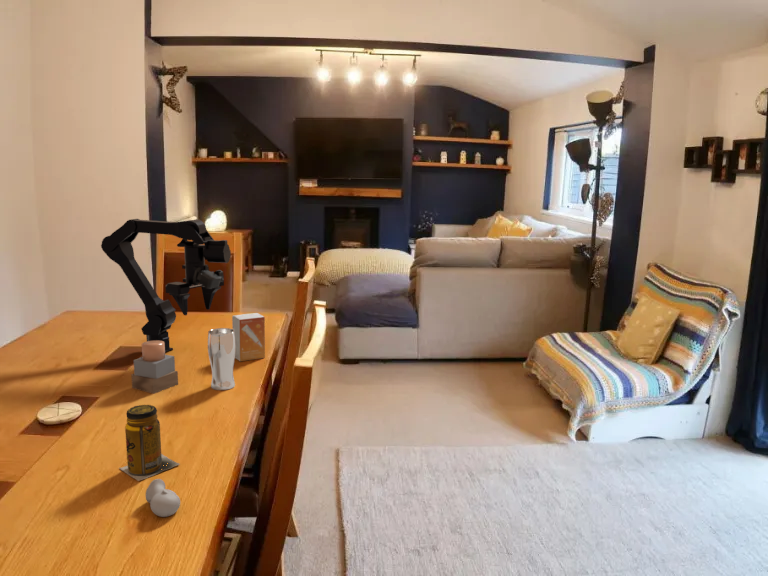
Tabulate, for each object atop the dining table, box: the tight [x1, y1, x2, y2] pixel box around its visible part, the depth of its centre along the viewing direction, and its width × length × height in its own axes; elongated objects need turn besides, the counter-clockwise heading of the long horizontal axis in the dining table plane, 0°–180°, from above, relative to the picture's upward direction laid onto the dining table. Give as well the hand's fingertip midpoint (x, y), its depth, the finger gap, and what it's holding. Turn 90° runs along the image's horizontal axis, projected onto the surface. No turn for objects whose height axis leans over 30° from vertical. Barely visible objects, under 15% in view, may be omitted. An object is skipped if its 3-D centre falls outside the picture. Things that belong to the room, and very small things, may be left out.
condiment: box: [119, 404, 180, 482], centre depth 113 cm, size 7×8×12 cm
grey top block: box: [133, 354, 176, 379], centre depth 155 cm, size 7×7×4 cm
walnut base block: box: [130, 370, 179, 395], centre depth 156 cm, size 8×8×4 cm
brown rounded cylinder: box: [141, 340, 166, 362], centre depth 155 cm, size 6×6×4 cm
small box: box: [231, 312, 266, 362], centre depth 181 cm, size 8×6×13 cm
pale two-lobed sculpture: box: [145, 478, 181, 518], centre depth 100 cm, size 4×8×5 cm
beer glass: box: [207, 327, 236, 391], centre depth 156 cm, size 7×7×15 cm
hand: (196, 312), depth 183 cm, fingers open, 9 cm apart
